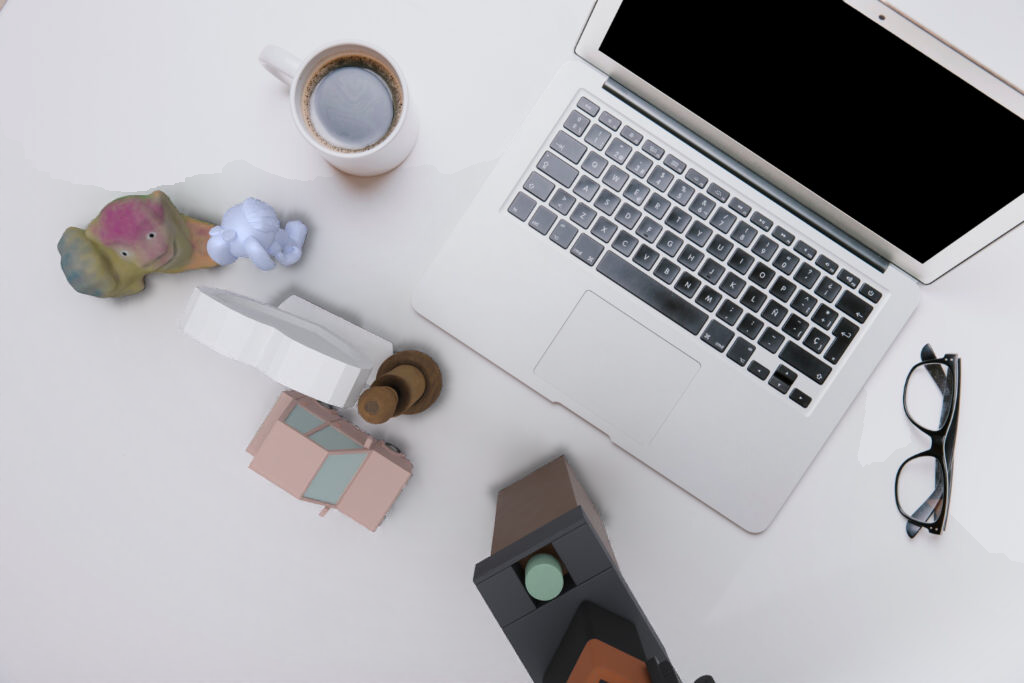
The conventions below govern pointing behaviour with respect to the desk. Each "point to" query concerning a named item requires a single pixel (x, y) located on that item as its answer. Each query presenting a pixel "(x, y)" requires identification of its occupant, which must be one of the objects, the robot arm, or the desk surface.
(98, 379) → the desk surface
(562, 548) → the dark grey tall block
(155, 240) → the sculpture
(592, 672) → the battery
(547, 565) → the tare button
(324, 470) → the toy car
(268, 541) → the desk surface
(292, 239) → the toy figurine
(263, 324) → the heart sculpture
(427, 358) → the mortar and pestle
